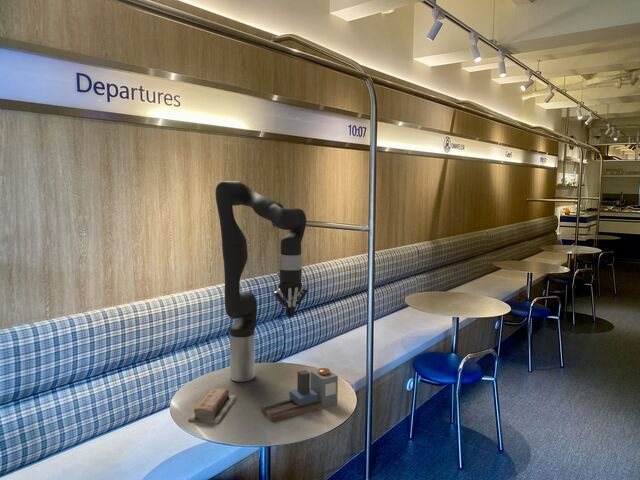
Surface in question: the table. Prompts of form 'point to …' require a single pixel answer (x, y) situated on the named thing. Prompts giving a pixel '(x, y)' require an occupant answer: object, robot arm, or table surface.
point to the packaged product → (213, 406)
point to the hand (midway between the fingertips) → (290, 316)
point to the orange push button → (323, 371)
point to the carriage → (303, 390)
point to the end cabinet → (325, 388)
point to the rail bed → (287, 409)
